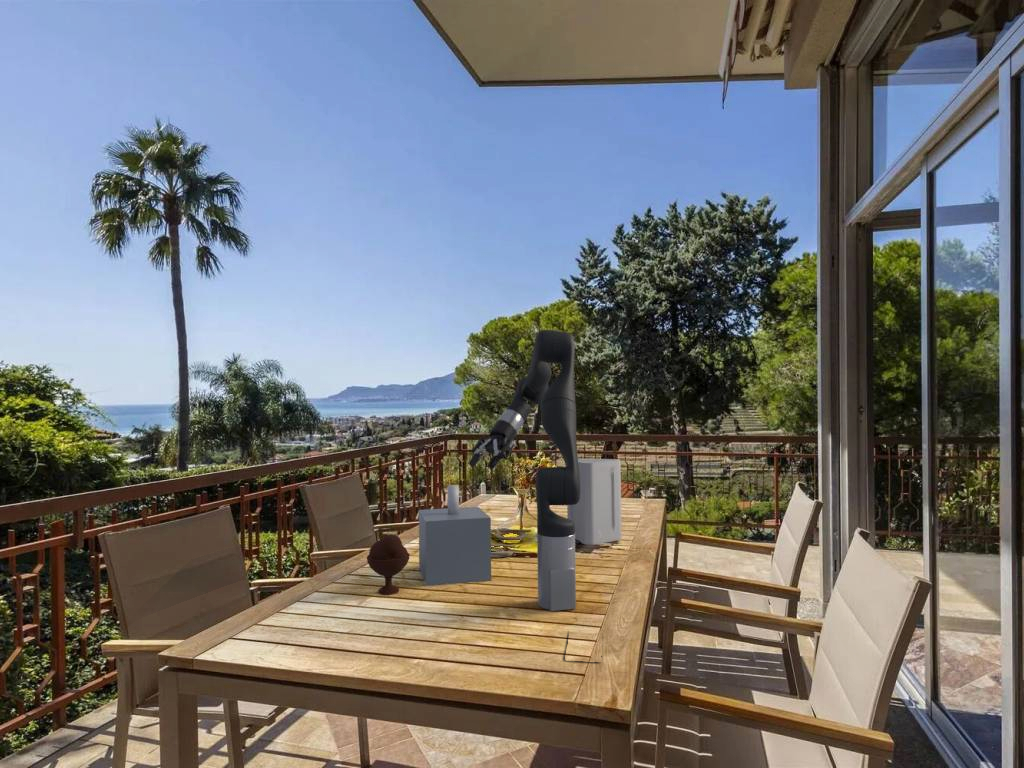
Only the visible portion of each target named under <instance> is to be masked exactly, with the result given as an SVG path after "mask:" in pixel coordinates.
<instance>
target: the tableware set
mask: <svg viewBox="0 0 1024 768" xmlns="http://www.w3.org/2000/svg"><path fill="white" fill-rule="evenodd" d="M492 531H493V530H491V533H492ZM498 531H499V532H498ZM498 531H497V532H496V533H495V534H494V537H495V538H496V539H499V540H500V539H501V540H520V539H522V540H523V539H525V538H527V537H528V534H527V533H532V529H511V528H498ZM509 533H513V534H517V535H519V536H517V537H504V536H503V535H505V534H509ZM491 546H494V547H500V546H503V547H510V548H513V549H516V548H517V546H516V545H514V544H505V543H502V544H501V543H492V542H491ZM512 554H513V552H491V559H492V558H493V559H496V558H507V557H510V556H513V555H514V554H513V555H512Z"/></svg>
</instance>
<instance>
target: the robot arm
mask: <svg viewBox="0 0 1024 768" xmlns="http://www.w3.org/2000/svg"><path fill="white" fill-rule="evenodd" d="M575 344H576V342H575V337H574V335H573V334H572V333H571V332H567V331H561V330H552V329H542V330H540V331H538V332H537V334H536V336H535V340H534V343H533V347H532V348H533V349H532V353H531V354H532V355H531V358H530V359H531V361H530V367H529V370H528V373H527V374H526V375H524V376H523V377H522V378H520V379H519V380H518V383H517V384H516V388H515V393H514V395H513V398H512V400H511V402H510V403H509V405H508V406H507V408H506V409H505V410H504V411H503V413H501V414H500V416H499V418H498V419H497V420H496V422H495V423H494V424H493V426H492V428H490V431H489V432H490V433H489V437H488V438H487V439H484V437H480V439H479V440H478V441H477V442H476V444H475V445H474V446H473V447H472V449H471V451H470V452H471V453H472V454H473V455H472V456H471V458H470V460H469V462H468V465H469V466H470V467H471V468H475V467H476V465H477V464H478V462H480V459H481V458H483V457H484V456H487V455H490V454H494V455H492V457H491V458H490V460H489V462H488V463H487V465H486V466H487V467H488V469H489V470H494V468H495V467H496V466H497V465H498V464H499V462H500V461H502V460H507V459H508V457H509V455H510V454H511V453H512V450H514V447H515V444H514V439H515V438H516V436H517V435H518V433H519V432H520V430H521V429H522V426H523V424H524V423H525V422H526V420H527V418H528V417H529V416H530V413H531V412H532V408H531V405H530V404H529V402H530V403H531V404H533V405H536V406H538V405H540V422H541V426H542V428H543V430H544V432H545V433H546V434H547V436H548V437H549V438H550V440H551V441H552V443H554V445H555V446H556V448H557V449H558V451H559V452H560V454H561V457H562V458H563V461H564V464H565V466H546V467H545V466H544V467H539V468H538V469H537V471H536V473H535V496H536V507H537V508H536V513H537V515H536V517H537V520H536V521H537V523H536V525H537V526H536V527H537V528H536V529H537V530H536V531H537V532H536V533H537V534H536V537H537V538H536V539H537V544H536V545H537V546H536V547H537V551H536V553H537V556H536V557H537V604H538V606H539V607H540V608H543V609H545V610H549V611H550V612H557V611H565V610H576V606H577V594H576V593H577V589H576V588H577V586H576V585H577V584H576V574H577V573H576V540H575V524H574V522H573V521H572V520H570V519H568V518H567V517H564V516H561V515H560V514H557V513H555V512H554V511H553V510H552V509H551V508H550V506H567V505H575V504H577V503H578V502H579V499H580V493H581V486H580V474H579V465H578V459H579V456H578V447H577V404H576V392H575V358H576V357H575V352H576V351H575V350H576V349H575V348H576V347H575V346H576V345H575ZM549 363H550V364H557V365H560V366H561V369H560V371H559V373H558V375H557V377H556V378H555V379H554V381H553V382H552V383H551V385H549V382H550V380H551V378H552V368H551V366H550V365H549ZM484 448H485V449H484Z"/></svg>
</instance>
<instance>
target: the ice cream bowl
mask: <svg viewBox="0 0 1024 768" xmlns="http://www.w3.org/2000/svg"><path fill="white" fill-rule="evenodd" d="M410 554H411V553H410V552H408V550H407V548H406V547H405V546H404V545H403V542H402V539H401V538H400V537H399V536H398V535H397V534H386V535H385V536H384V537H383V538H382V539H379V540H377V541H375V542H374V543H373V544H372V545H371V547H370V548H369V552H368V555H367V556H366V560H367V564H368V566H369V568H370V569H371V570H372V571H374V573H376V574H378V575H379V576H382V577H384V583H385V584H384V585H383V586H381V587H380V588H379V589H378V590H377V593H378V594H379V595H382V596H383V595H384V596H391V595H395V594H398V593H399V592H400V588H399V587H397V586H395V585H394V584H393V577H394V576H395V575H398V574H399V573H400V572H401V571H402V570H404V568H405V567H406V566H408V565H407V564H408V562H409V560H410V556H411V555H410Z"/></svg>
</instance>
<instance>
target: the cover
mask: <svg viewBox="0 0 1024 768" xmlns="http://www.w3.org/2000/svg"><path fill="white" fill-rule="evenodd" d="M459 488H460V486H459V485H458V484H450V485H447V508H445V507H444V508H432V509H431V508H430V509H418V568H419V572H420V574H421V577H422V580H423V583H424V584H425V586H426V587H430V586H439V585H440V586H443V585H453V584H465V583H476V582H488V581H492V558H491V543H492V536H491V535H492V532H491V529H492V527H491V526H492V525H491V523H492V522H491V520H492V518H491V516H490V515H488V514H487V513H486V512H485V511H484V510H482V509H481V507H480V506H468V507H467V506H466V507H465V506H463V507H460V491H459V490H460V489H459Z"/></svg>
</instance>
